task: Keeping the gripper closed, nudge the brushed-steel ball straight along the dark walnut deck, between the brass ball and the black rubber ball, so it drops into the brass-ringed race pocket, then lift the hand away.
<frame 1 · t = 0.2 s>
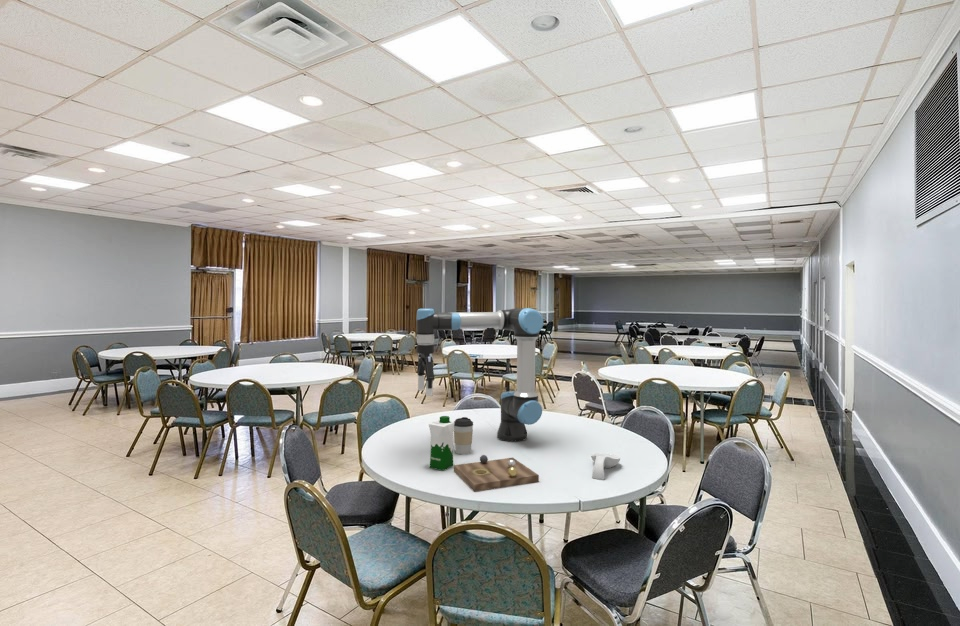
hand: (425, 393, 207), 28 cm above the table, fingers open, 13 cm apart
brass ball: (512, 471, 178), point 4 cm above the table, touching deck
black rubber ball: (483, 459, 193), point 4 cm above the table, touching deck
milk carton: (441, 467, 195), on the table
steel ball: (511, 463, 187), point 4 cm above the table, touching deck
coffee cup: (463, 452, 215), on the table
deck: (495, 476, 185), on the table
white curved piece: (603, 470, 193), on the table
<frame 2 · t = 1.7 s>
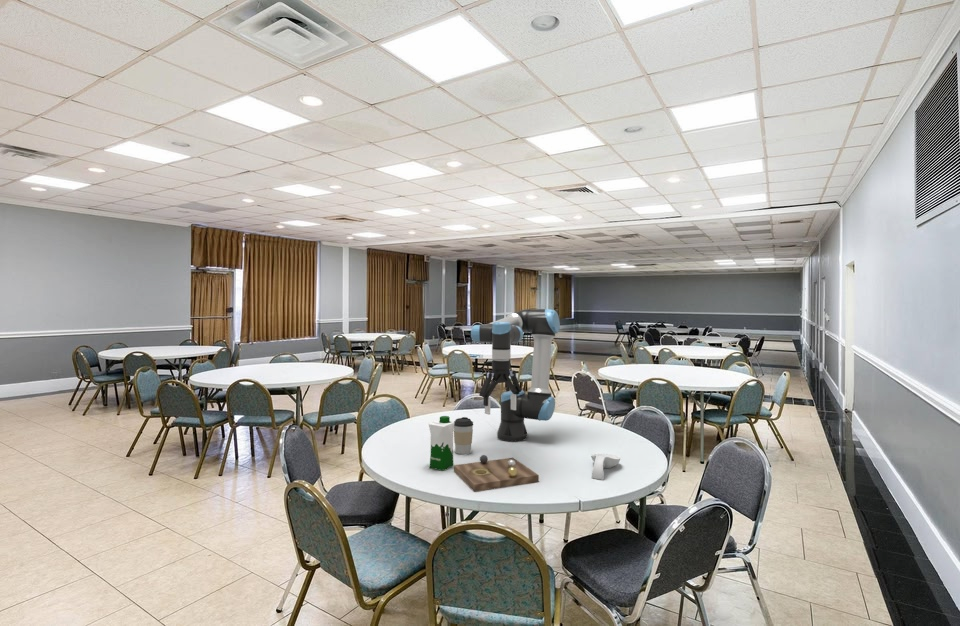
hand: (500, 411, 195), 23 cm above the table, fingers open, 13 cm apart
nothing on the table moved.
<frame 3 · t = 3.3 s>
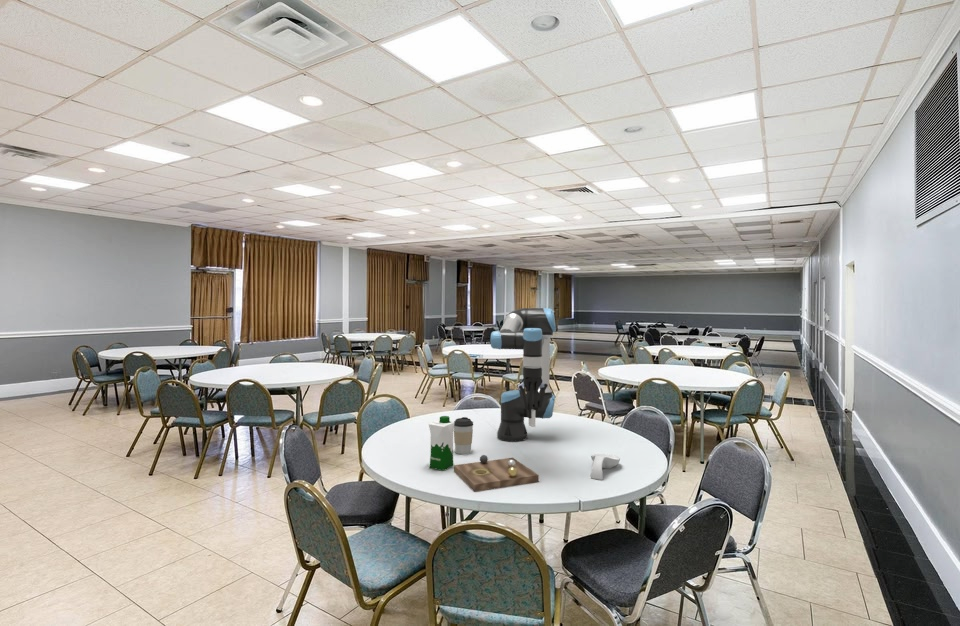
hand: (532, 425, 190), 18 cm above the table, fingers closed
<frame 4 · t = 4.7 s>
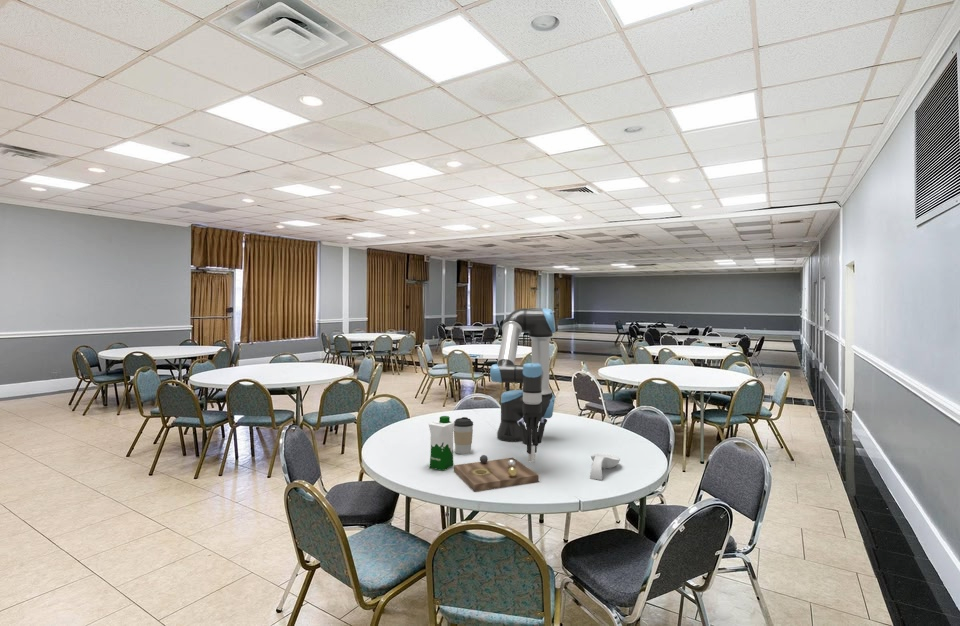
hand: (531, 461, 191), 4 cm above the table, fingers closed
nothing on the table moved.
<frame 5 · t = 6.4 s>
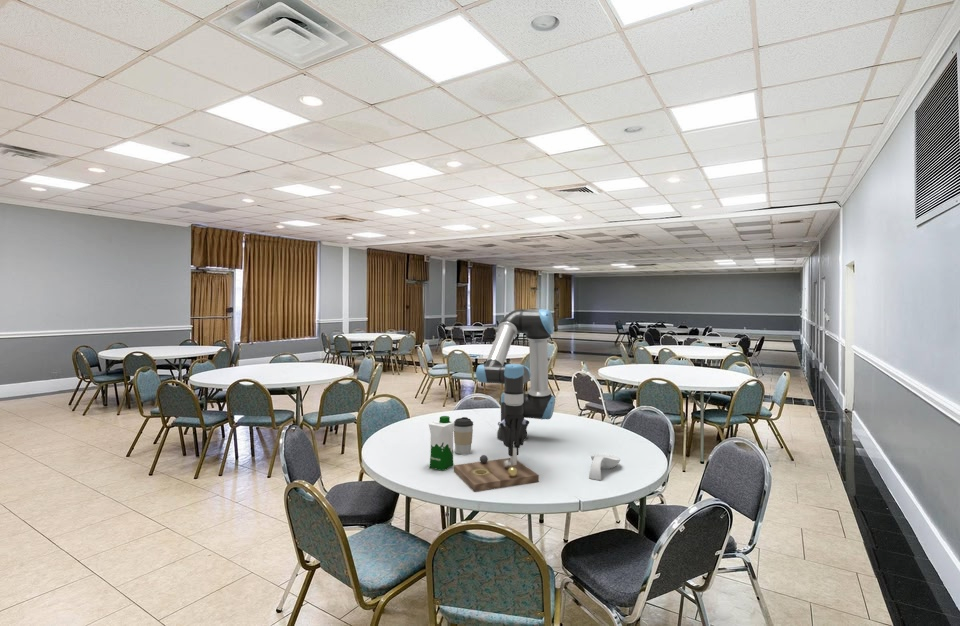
hand: (513, 463, 188), 4 cm above the table, fingers closed
steel ball: (507, 464, 187), point 4 cm above the table, tilted 58°, touching deck
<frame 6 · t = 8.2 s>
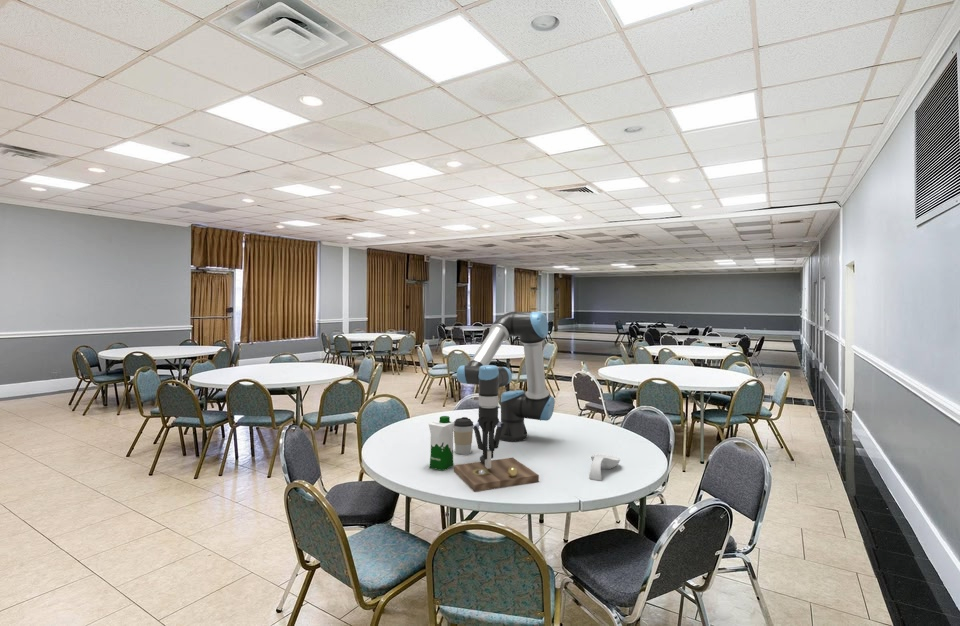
hand: (488, 467, 184), 4 cm above the table, fingers closed
steel ball: (482, 474, 183), point 2 cm above the table, tilted 96°
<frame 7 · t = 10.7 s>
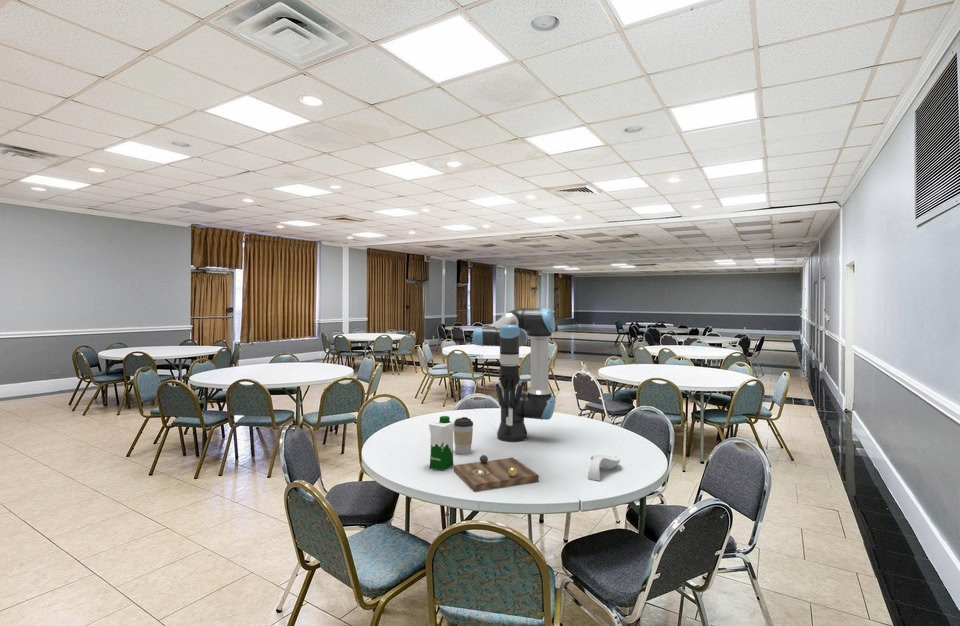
hand: (509, 424, 187), 19 cm above the table, fingers closed
steel ball: (480, 474, 183), point 2 cm above the table, tilted 118°
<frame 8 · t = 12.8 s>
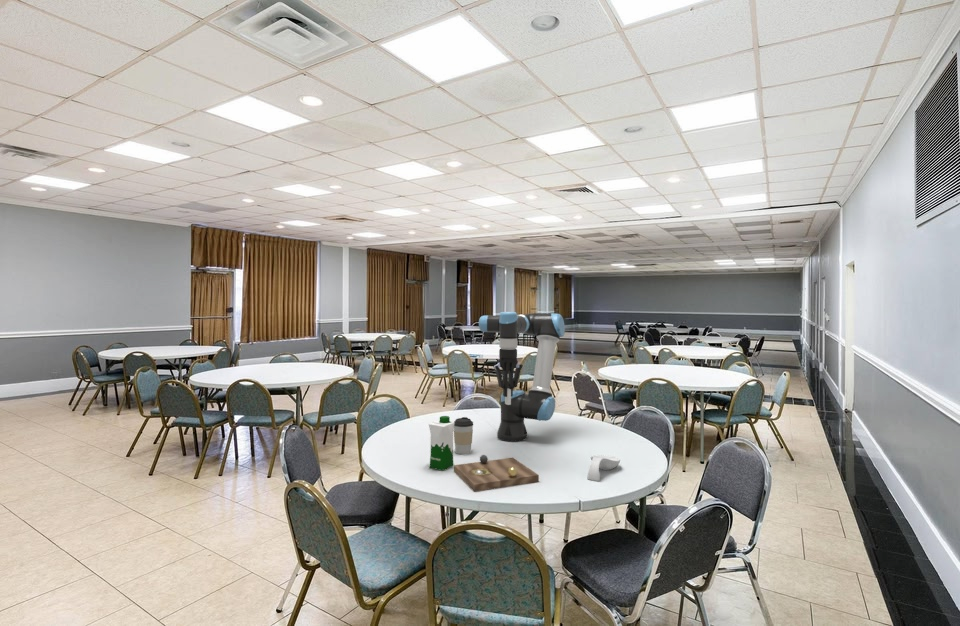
hand: (507, 404, 202), 24 cm above the table, fingers closed
steel ball: (479, 474, 182), point 2 cm above the table, tilted 134°
at the end: steel ball 0.6 cm from the target spot in the deck, point 1.6 cm above the deck's base; steel ball point 1.6 cm above the table; brass ball moved 0.0 cm from its start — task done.
